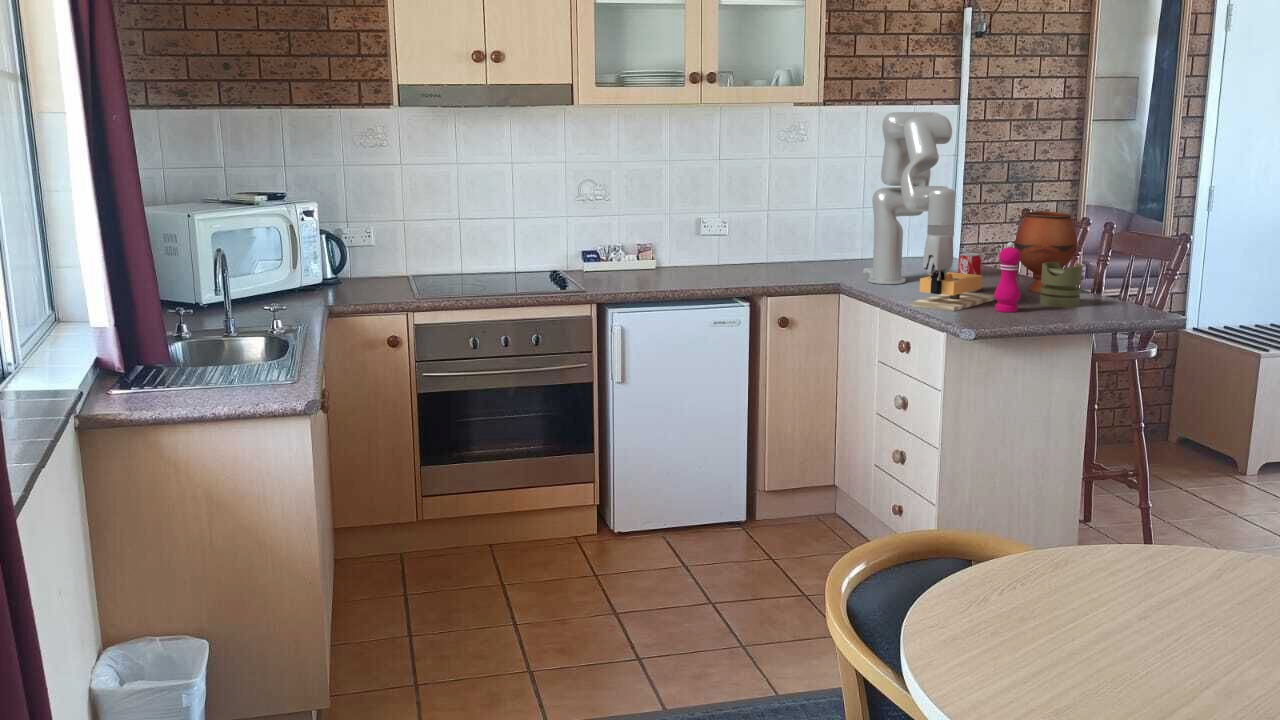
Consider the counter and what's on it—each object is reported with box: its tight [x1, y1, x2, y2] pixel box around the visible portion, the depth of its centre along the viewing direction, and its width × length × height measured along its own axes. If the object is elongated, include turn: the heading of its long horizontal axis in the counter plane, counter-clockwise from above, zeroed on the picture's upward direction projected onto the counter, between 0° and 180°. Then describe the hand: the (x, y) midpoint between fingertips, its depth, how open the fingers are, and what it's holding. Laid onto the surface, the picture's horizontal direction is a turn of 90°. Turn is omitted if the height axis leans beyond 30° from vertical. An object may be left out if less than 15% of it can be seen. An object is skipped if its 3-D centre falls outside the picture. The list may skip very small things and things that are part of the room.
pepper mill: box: [993, 241, 1021, 313], centre depth 342 cm, size 7×7×20 cm
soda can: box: [957, 252, 983, 293], centre depth 378 cm, size 7×7×12 cm
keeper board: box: [910, 278, 996, 312], centre depth 358 cm, size 28×14×7 cm, turn 138°
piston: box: [1039, 262, 1083, 308], centre depth 354 cm, size 11×12×11 cm
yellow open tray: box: [919, 271, 983, 295], centre depth 355 cm, size 18×11×4 cm, turn 138°
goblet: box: [1013, 210, 1078, 294], centre depth 376 cm, size 19×19×25 cm
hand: (937, 292), depth 349 cm, fingers closed on yellow open tray, 1 cm apart
